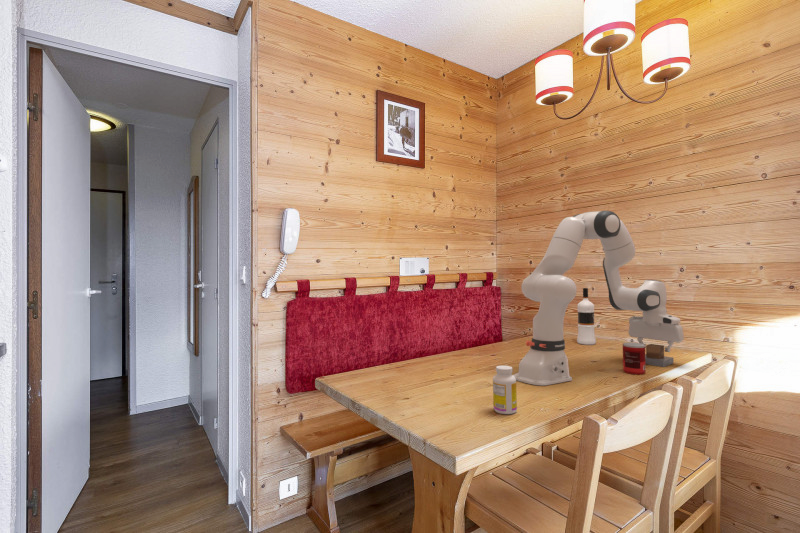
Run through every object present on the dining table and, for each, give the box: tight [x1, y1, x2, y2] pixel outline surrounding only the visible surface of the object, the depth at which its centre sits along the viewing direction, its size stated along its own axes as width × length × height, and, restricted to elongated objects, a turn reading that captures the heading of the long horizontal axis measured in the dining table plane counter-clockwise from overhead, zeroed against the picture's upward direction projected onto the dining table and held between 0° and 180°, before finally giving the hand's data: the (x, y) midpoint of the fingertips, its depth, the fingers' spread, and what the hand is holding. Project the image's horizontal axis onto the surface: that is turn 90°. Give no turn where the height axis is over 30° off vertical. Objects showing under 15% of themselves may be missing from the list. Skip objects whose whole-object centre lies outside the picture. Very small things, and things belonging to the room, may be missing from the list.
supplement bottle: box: [492, 365, 518, 415], centre depth 117 cm, size 7×7×13 cm
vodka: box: [576, 287, 597, 346], centre depth 214 cm, size 9×9×30 cm
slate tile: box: [645, 353, 674, 368], centre depth 170 cm, size 10×10×2 cm
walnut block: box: [645, 343, 665, 359], centre depth 170 cm, size 5×5×5 cm
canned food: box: [622, 341, 646, 376], centre depth 156 cm, size 8×8×11 cm
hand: (655, 350), depth 170 cm, fingers open, 8 cm apart
